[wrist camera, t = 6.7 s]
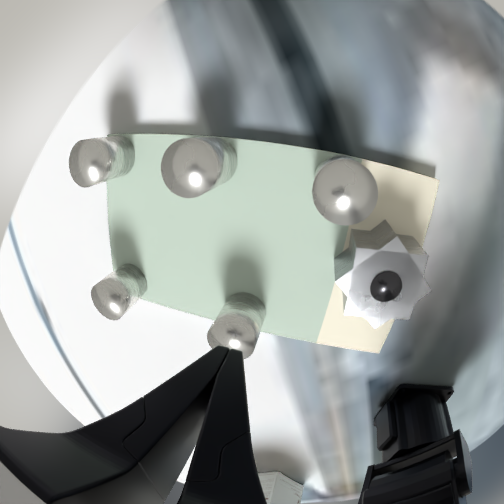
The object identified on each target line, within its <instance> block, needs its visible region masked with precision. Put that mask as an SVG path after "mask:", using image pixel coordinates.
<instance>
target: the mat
mask: <svg viewBox="0 0 504 504" xmlns="http://www.w3.org/2000/svg"><path fill="white" fill-rule="evenodd" d="M111 136H124V137H126V138H128V139H129V140H130V142H131V143H132V145H133V147H134V151H135V161H134V165H133V168H132V169H131V171H130V172H129V173H128V174H127V175H125V176H122V177H119V178H116V179H112V180H109V181H107V204H108V222H109V235H110V246H111V256H112V264H113V271H115V270H116V269H117V268H119V267H120V266H121V265H123V264H126V263H129V264H132V265H135V266H136V267H138V268H139V269H140V270H141V271H142V273H143V274H144V276H145V278H146V280H147V291H146V293H145V294H144V295H143V296H142V297H141V298H140V299H143V300H146V301H149V302H152V303H156V304H159V305H162V306H166V307H169V308H172V309H176V310H179V311H183V312H186V313H190V314H193V315H197V316H200V317H204V318H208V319H212V320H215V319H216V317H217V316H218V314H219V312H220V311H221V309H222V307H223V305H224V304H225V302H226V300H227V299H228V298H229V297H230V296H231V295H232V294H234V293H238V292H246V293H250V294H253V295H255V296H256V297H258V298H259V299H260V300H261V301H262V302H263V304H264V306H265V308H266V317H265V320H264V323H263V326H262V328H261V331H260V332H265V333H269V334H274V335H278V336H283V337H288V338H293V339H297V340H302V341H308V342H313V343H318V344H324V345H329V346H335V347H341V348H347V349H353V350H359V351H366V352H373V353H379V352H380V350H381V348H382V346H383V344H384V342H385V340H386V338H387V335H388V333H389V331H390V329H391V327H392V325H393V322H394V320H395V319H390V320H389V321H387V322H386V323H384V324H382V325H381V326H379V327H378V328H376V329H374V328H373V327H372V326H371V325H370V323H369V322H368V321H367V320H366V319H365V317H361V316H350V315H344V309H343V295H342V290H341V288H340V287H339V286H338V285H337V284H336V282H335V274H334V258H335V257H336V256H338V255H339V254H340V253H342V252H343V251H344V250H346V249H347V248H348V247H349V241H350V234H351V229H358V230H367V231H371V230H372V229H373V228H375V227H376V226H377V225H378V224H380V223H381V222H382V221H383V220H385V219H386V221H387V222H388V224H389V225H390V226H391V228H392V229H393V231H394V232H395V234H400V235H408V236H413V237H414V238H415V239H416V240H417V242H418V243H419V244H420V246H421V247H422V246H423V242H424V239H425V236H426V232H427V229H428V225H429V222H430V218H431V215H432V211H433V207H434V203H435V199H436V194H437V190H438V186H439V181H440V180H437V179H435V178H432V177H429V176H425V175H422V174H419V173H415V172H412V171H408V170H405V169H401V168H398V167H394V166H390V165H386V164H382V163H378V162H374V161H370V160H366V159H361V158H357V157H353V156H349V157H351V158H353V159H354V160H356V161H358V162H359V163H361V164H362V165H364V166H365V167H366V168H367V169H368V170H369V171H370V172H371V173H372V175H373V176H374V178H375V180H376V183H377V187H378V200H377V203H376V206H375V208H374V210H373V211H372V213H371V214H370V215H369V216H368V217H367V218H366V219H365V220H363V221H361V222H360V223H357V224H354V225H338V224H334V223H332V222H330V221H328V220H327V219H325V218H324V217H323V216H322V215H321V214H320V213H319V211H318V210H317V208H316V206H315V204H314V201H313V196H312V187H313V181H314V176H315V172H316V169H317V167H318V166H319V165H320V163H321V162H322V161H323V160H325V159H326V158H328V157H330V156H334V155H343V154H338V153H333V152H328V151H323V150H317V149H312V148H306V147H300V146H293V145H287V144H280V143H273V142H265V141H257V140H248V139H238V138H228V137H219V138H222V139H224V140H226V141H227V142H229V143H230V144H231V145H232V147H233V148H234V150H235V152H236V155H237V168H236V171H235V173H234V175H233V176H232V178H231V179H230V180H229V181H227V182H226V183H224V184H222V185H220V186H218V187H216V188H214V189H212V190H210V191H208V192H206V193H204V194H202V195H200V196H198V197H195V198H183V197H180V196H177V195H176V194H174V193H173V192H171V191H170V190H169V188H168V187H167V186H166V184H165V183H164V181H163V178H162V174H161V161H162V157H163V155H164V153H165V151H166V149H167V148H168V147H169V146H170V145H171V144H172V143H174V142H175V141H177V140H180V139H184V138H199V137H216V136H202V135H183V134H109V135H107V137H111ZM345 156H348V155H345Z"/></svg>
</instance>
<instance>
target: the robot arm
mask: <svg viewBox="0 0 504 504" xmlns="http://www.w3.org/2000/svg"><path fill="white" fill-rule="evenodd" d="M453 392H454V390H453V387H441V386H421V385H407V384H402V385H400V386H398V387H397V389H396V390H395V392H394V393H393V395H392V396H391V398H390V399H389V401H388V402H387V403H386V404H385V405H384V407H383V408H382V410H381V411H380V412H379V414H378V415H377V416H376V419H375V420H374V422H373V423H374V426H376V427H377V448H378V450H379V451H382V463H380V464H377V465H371V466H368V469H367V473H366V477H365V481H364V484H363V488H362V492H361V495H360V499H359V502H358V504H467V500H466V495H468V494H470V493H472V462H471V457H470V453H469V449H468V445H467V443H466V441H465V439H464V437H463V435H462V433H461V431H460V429H458V430H456V431H455V432H453V428H452V424H451V420H450V416H449V412H448V408H447V404H446V402H447V400H448V399H449V398H450V397H451V395H452V394H453ZM196 443H197V444H196ZM195 445H196V447H195ZM194 447H195V451H194V454H193V457H192V461H191V464H190V468H189V471H188V475H187V478H186V482H185V485H184V488H183V491H182V494H181V496H180V499H179V501H178V503H177V504H267V502H266V499H265V496H264V492H263V489H262V486H261V483H260V479H259V476H258V472H257V469H256V464H255V460H254V456H253V449H252V443H251V433H250V424H249V414H248V404H247V394H246V383H245V372H244V361H243V352H242V351H240V350H236V349H229V348H228V347H224V346H220V345H218V346H216V347H215V348H213V349H212V350H211V351H209V352H208V353H206V354H205V355H203V356H202V357H201V358H199V359H198V360H196V361H195V362H194V363H192V364H191V365H189V366H188V367H186V368H185V369H183V370H182V371H180V372H179V373H178V374H176V375H175V376H173V377H172V378H170V379H169V380H167V381H166V382H164V383H163V384H161V385H160V386H158V387H157V388H155V389H154V390H152V391H151V392H149V393H148V394H146V395H144V398H143V397H141V398H140V399H138V400H137V401H135V402H133V403H132V404H130V405H128V406H127V407H125V408H123V409H121V410H119V411H117V412H115V413H113V414H111V415H109V416H107V417H105V418H103V419H101V420H98V421H96V422H94V423H91V424H89V425H87V426H84V427H82V428H80V429H77V430H74V431H71V432H66V433H45V432H32V431H23V430H15V429H9V428H4V427H2V426H0V504H164V501H165V500H166V498H167V496H168V495H169V493H170V491H171V489H172V488H173V486H174V484H175V482H176V480H177V479H178V477H179V475H180V473H181V471H182V469H183V468H184V466H185V464H186V462H187V460H188V458H189V456H190V455H191V453H192V451H193V449H194ZM456 456H457V458H455V459H453V458H454V457H456Z"/></svg>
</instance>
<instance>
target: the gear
mask: <svg viewBox="0 0 504 504" xmlns="http://www.w3.org/2000/svg"><path fill="white" fill-rule="evenodd" d="M427 260H428V255H427V253H426V252H425V251H424V249H423V248H422V247H421V246H420V244H419V243H418V242H417V240H416V239H415V238H414V237H413V236H408V235H400V234H395V232H394V231H393V229H392V228H391V226H390V225H389V224H388V222H387V221H386V219H385V220H383V221H382V222H381V223H380V224H378V225H377V226H376V227H375V228H373V229H372V230H371V231H367V230H358V229H351V234H350V241H349V247H348V248H347V249H346V250H344V251H343V252H342V253H340V254H339V255H338V256H336V257H335V258H334V274H335V282H336V284H337V285H338V286H339V287H340V288H341V290H342V295H343V309H344V315H350V316H361V317H365V319H366V320H367V321H368V322H369V323H370V325H371V326H372V327H373V328H374V329H376V328H378V327H379V326H381V325H382V324H384V323H386V322H387V321H389V320H390V319H400V320H410V317H411V314H412V311H413V308H414V305H415V303H416V302H417V301H419V300H420V299H421V298H423V297H424V296H426V295H427V294H428V293H430V292H431V291H432V290H431V289H430V287H429V285H428V283H427V282H426V280H425V278H424V277H423V275H424V271H425V268H426V264H427Z"/></svg>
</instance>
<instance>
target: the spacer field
mask: <svg viewBox="0 0 504 504" xmlns="http://www.w3.org/2000/svg"><path fill="white" fill-rule="evenodd" d="M134 161H135V151H134V147H133V145H132V143H131V142H130V140H129V139H128V138H126V137H124V136H111V137H102V138H94V139H86V140H81V141H79V142H77V143H76V144H75V145H74V147H73V148H72V150H71V153H70V157H69V168H70V173H71V176H72V178H73V180H74V181H75V182H76V183H77V184H78V185H79V186H81V187H90V186H93V185H96V184H99V183H102V182H106V181H109V180H112V179H116V178H119V177H122V176H125V175H127V174H128V173H129V172H130V171H131V169H132V168H133V165H134ZM236 168H237V155H236V152H235V150H234V148H233V147H232V145H231V144H230V143H229V142H227V141H226V140H224V139H222V138H219V137H199V138H184V139H180V140H177V141H175V142H174V143H172V144H171V145H170V146H169V147H168V148H167V149H166V151H165V153H164V155H163V157H162V161H161V174H162V178H163V181H164V183H165V184H166V186H167V187H168V188H169V190H170V191H171V192H173V193H174V194H176V195H177V196H180V197H183V198H195V197H198V196H200V195H202V194H204V193H206V192H208V191H210V190H212V189H214V188H216V187H218V186H220V185H222V184H224V183H226V182H227V181H229V180H230V179H231V178H232V176H233V175H234V173H235V171H236ZM312 196H313V201H314V204H315V206H316V208H317V210H318V211H319V213H320V214H321V215H322V216H323V217H324V218H325V219H327V220H328V221H330V222H332V223H334V224H338V225H354V224H357V223H360V222H361V221H363V220H365V219H366V218H367V217H368V216H369V215H370V214H371V213H372V211H373V210H374V208H375V206H376V203H377V200H378V187H377V183H376V180H375V178H374V176H373V175H372V173H371V172H370V171H369V170H368V169H367V168H366V167H365V166H364V165H362V164H361V163H359V162H358V161H356V160H354V159H353V158H351V157H349V156H345V155H334V156H330V157H328V158H326V159H325V160H323V161H322V162H321V163H320V165H319V166H318V167H317V169H316V172H315V176H314V181H313V187H312ZM146 291H147V280H146V278H145V276H144V274H143V273H142V271H141V270H140V269H139V268H138V267H136V266H135V265H132V264H129V263H126V264H123V265H121V266H120V267H119V268H117V269H116V270H115V271H113V272H112V273H111V274H109V275H108V276H107V277H105V278H104V279H103V280H101V281H100V282H99V283H97V284H96V285H95V286H94V287H93V288H92V291H91V297H92V300H93V303H94V305H95V307H96V308H97V309H98V311H99V312H100V313H101V314H102V315H103V316H105V317H106V318H108V319H110V320H118V319H120V318H121V317H122V316H123V315H124V314H125V313H126V312H127V311H128V310H129V309H130V308H131V307H132V306H133V305H134V304H135V303H136V302H137V301H138V300H139V299H140V298H141V297H142V296H143V295H144V294H145V293H146ZM265 317H266V308H265V306H264V304H263V302H262V301H261V300H260V299H259V298H258V297H256V296H255V295H253V294H250V293H246V292H238V293H234V294H232V295H231V296H230V297H229V298H228V299H227V300H226V302H225V304H224V305H223V307H222V309H221V311H220V312H219V314H218V316H217V317H216V319H215V321H214V322H213V324H212V326H211V328H210V329H209V331H208V334H207V339H208V343H209V345H210V346H211V348H212V349H213V348H215V347H216V346H218V345H220V346H224V347H228V348H229V349H236V350H240V351H242V352H243V359H246V358H248V357H249V356H250V355H251V354H252V353H253V351H254V348H255V346H256V343H257V340H258V337H259V334H260V331H261V328H262V326H263V323H264V320H265Z"/></svg>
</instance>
